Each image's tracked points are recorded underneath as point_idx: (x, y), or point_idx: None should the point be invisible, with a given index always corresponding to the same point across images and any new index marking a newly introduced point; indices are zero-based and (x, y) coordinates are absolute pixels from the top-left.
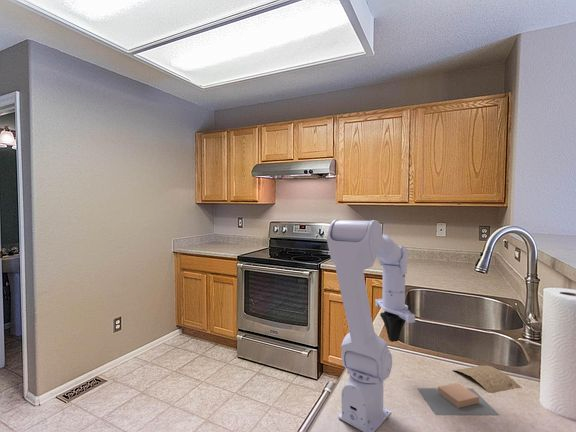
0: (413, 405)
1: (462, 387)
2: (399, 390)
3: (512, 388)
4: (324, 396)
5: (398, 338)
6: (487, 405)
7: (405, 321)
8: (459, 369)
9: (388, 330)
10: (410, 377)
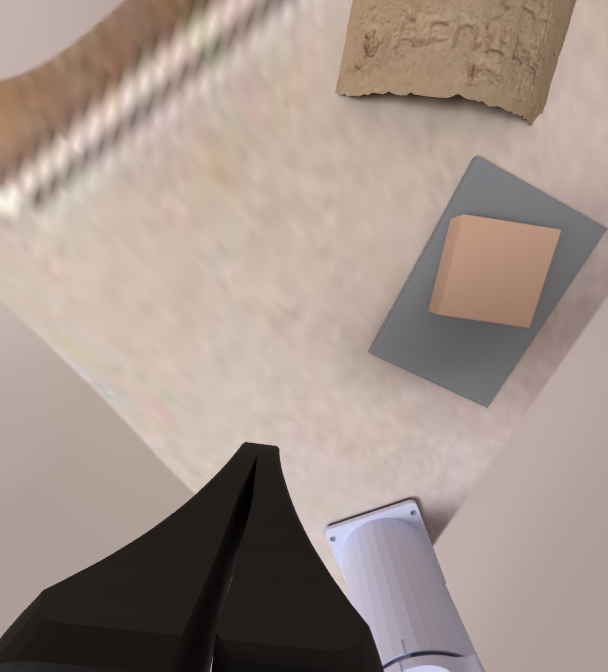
0: (417, 420)
1: (491, 228)
2: (342, 402)
3: None
4: None
5: (279, 457)
6: (561, 214)
7: (348, 602)
8: (360, 50)
9: (232, 573)
10: (299, 309)
